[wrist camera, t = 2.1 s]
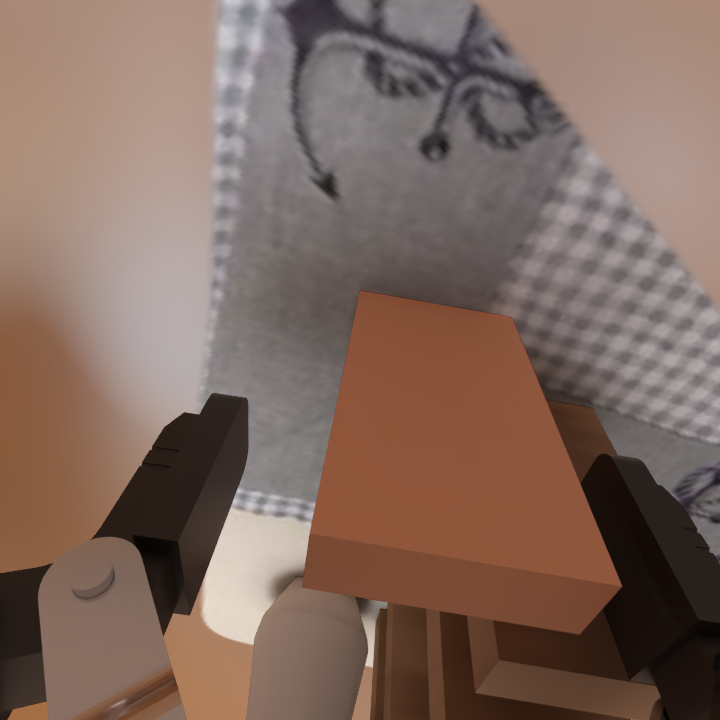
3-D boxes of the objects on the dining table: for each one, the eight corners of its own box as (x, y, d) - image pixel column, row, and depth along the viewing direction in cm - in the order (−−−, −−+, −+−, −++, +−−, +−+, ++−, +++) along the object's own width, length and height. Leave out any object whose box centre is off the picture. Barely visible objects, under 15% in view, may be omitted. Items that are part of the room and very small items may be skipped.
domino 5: (550, 481, 18) (646, 765, 11) (535, 506, 19) (615, 784, 12) (430, 460, 18) (446, 732, 11) (422, 486, 19) (431, 753, 12)
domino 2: (490, 585, 23) (529, 837, 15) (480, 601, 24) (514, 847, 16) (393, 569, 23) (387, 814, 15) (388, 585, 24) (379, 825, 16)
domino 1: (468, 623, 25) (493, 860, 18) (460, 636, 26) (481, 867, 19) (380, 608, 25) (368, 840, 18) (375, 622, 26) (362, 848, 19)
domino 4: (592, 407, 16) (749, 702, 9) (574, 439, 17) (702, 731, 10) (457, 384, 16) (499, 659, 9) (445, 417, 17) (475, 692, 10)
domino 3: (511, 317, 15) (622, 586, 7) (496, 357, 15) (579, 634, 8) (360, 290, 14) (309, 533, 7) (353, 332, 15) (302, 587, 8)
